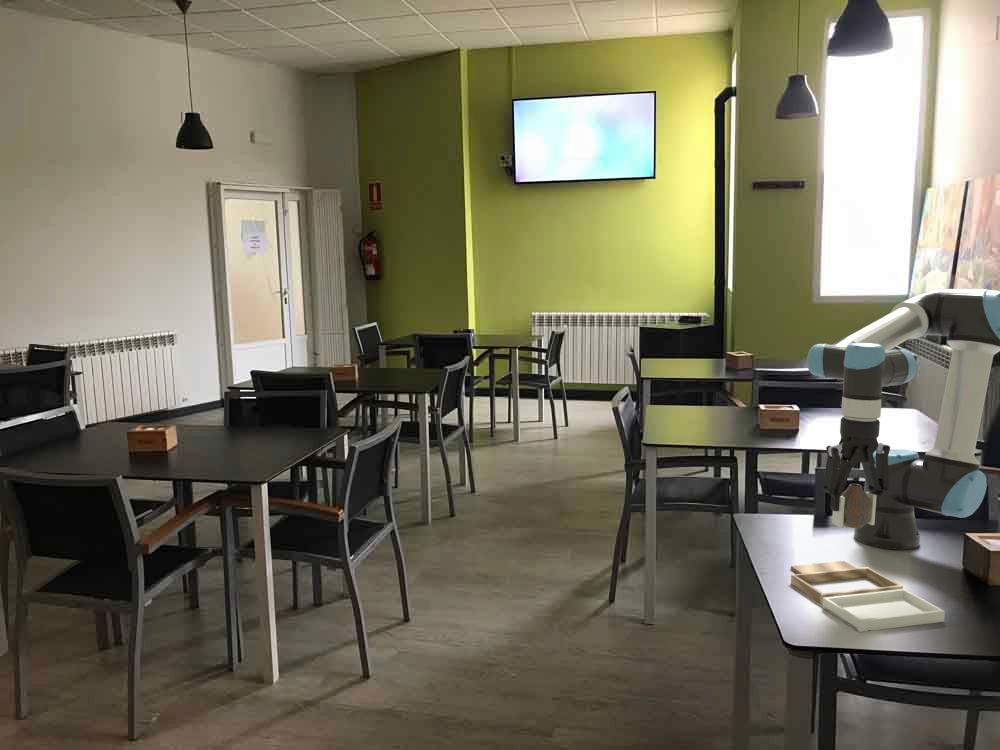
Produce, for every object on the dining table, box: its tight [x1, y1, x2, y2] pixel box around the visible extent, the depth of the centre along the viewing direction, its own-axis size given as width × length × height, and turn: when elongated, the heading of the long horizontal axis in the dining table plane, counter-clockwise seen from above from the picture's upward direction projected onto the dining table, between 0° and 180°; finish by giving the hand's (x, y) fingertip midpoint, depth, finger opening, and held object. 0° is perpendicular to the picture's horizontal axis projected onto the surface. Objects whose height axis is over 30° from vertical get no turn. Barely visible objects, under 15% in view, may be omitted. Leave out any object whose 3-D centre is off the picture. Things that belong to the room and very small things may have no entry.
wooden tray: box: [790, 566, 904, 605], centre depth 181 cm, size 19×11×2 cm, turn 104°
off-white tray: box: [822, 588, 946, 633], centre depth 168 cm, size 19×11×2 cm, turn 104°
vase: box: [841, 483, 872, 529], centre depth 176 cm, size 7×7×9 cm
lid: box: [790, 560, 857, 574], centre depth 191 cm, size 14×6×1 cm, turn 104°
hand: (853, 524), depth 177 cm, fingers closed on vase, 7 cm apart
